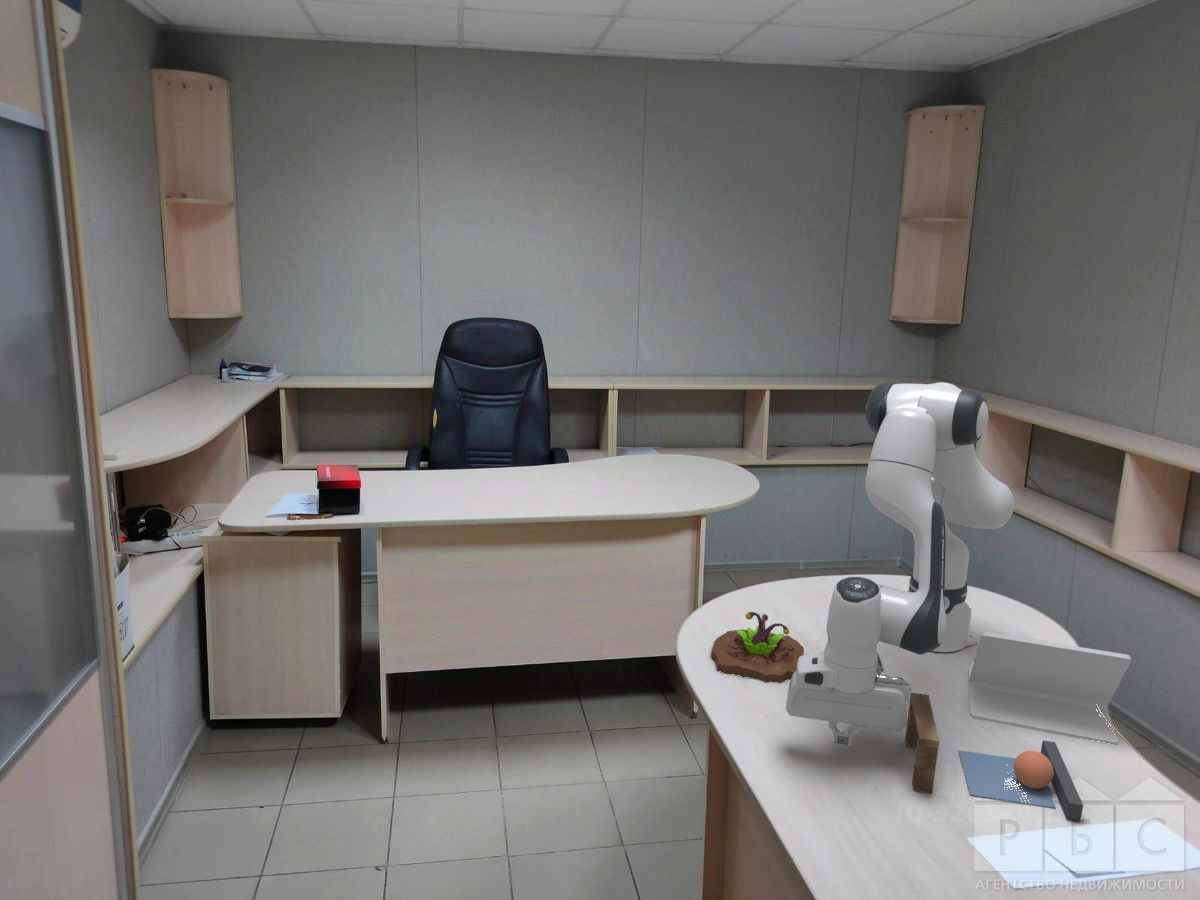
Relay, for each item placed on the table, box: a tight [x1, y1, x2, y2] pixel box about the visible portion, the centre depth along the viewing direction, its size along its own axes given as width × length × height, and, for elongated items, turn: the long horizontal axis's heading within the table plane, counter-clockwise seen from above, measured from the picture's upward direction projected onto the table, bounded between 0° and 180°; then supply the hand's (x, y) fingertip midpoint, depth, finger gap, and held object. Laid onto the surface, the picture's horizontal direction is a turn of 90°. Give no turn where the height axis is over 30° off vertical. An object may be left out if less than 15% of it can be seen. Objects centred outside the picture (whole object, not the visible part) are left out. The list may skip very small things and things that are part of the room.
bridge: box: [904, 691, 940, 794], centre depth 154 cm, size 3×15×10 cm, turn 167°
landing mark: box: [958, 749, 1057, 810], centre depth 152 cm, size 13×13×1 cm
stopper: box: [1040, 740, 1084, 823], centre depth 150 cm, size 18×2×3 cm, turn 167°
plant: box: [710, 611, 805, 684], centre depth 190 cm, size 20×20×11 cm
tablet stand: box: [967, 631, 1132, 746], centre depth 172 cm, size 18×25×17 cm
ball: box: [1014, 750, 1054, 789], centre depth 150 cm, size 6×6×6 cm
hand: (842, 742), depth 157 cm, fingers closed
